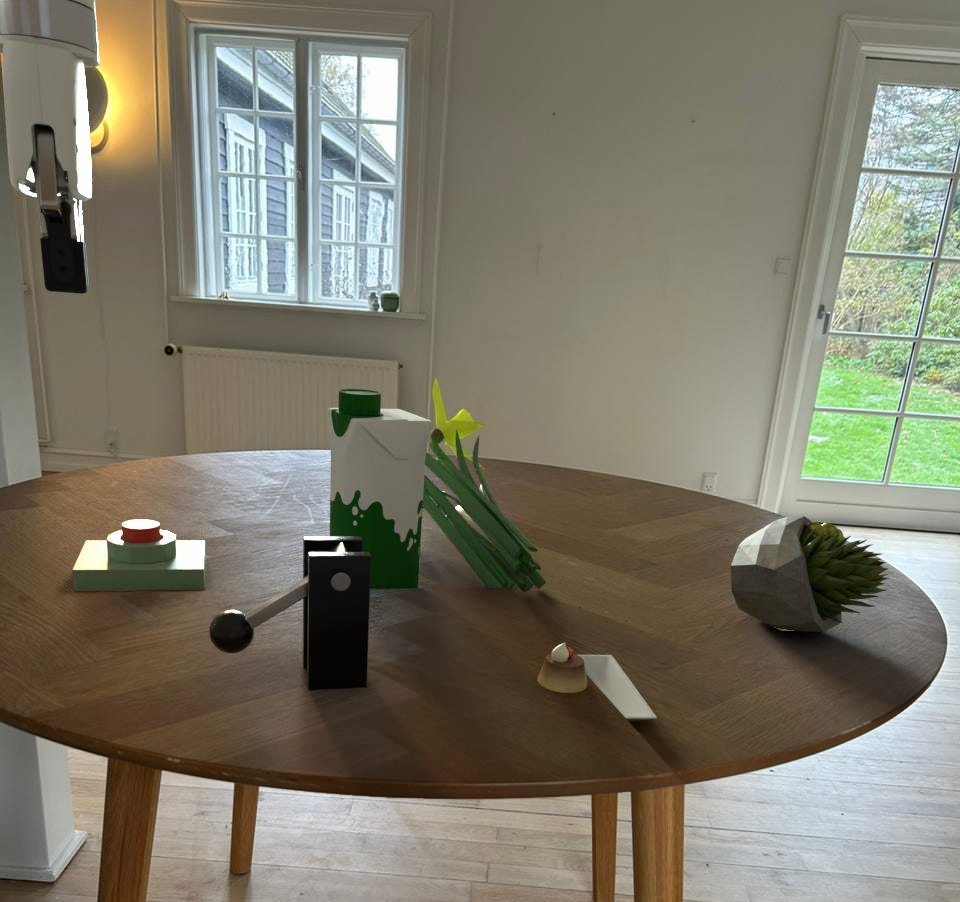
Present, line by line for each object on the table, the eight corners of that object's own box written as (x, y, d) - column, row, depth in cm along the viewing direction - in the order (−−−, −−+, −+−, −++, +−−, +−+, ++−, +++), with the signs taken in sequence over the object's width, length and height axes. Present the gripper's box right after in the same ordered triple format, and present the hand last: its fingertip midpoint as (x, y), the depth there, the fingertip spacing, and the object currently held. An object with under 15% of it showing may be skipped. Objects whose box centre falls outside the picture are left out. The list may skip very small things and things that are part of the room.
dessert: (610, 666, 78) (617, 615, 76) (655, 731, 67) (665, 674, 65) (476, 664, 76) (481, 613, 74) (501, 731, 65) (507, 672, 63)
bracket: (257, 720, 64) (254, 565, 59) (252, 669, 72) (250, 528, 67) (419, 712, 67) (428, 564, 63) (398, 663, 75) (405, 529, 71)
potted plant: (767, 565, 100) (911, 561, 91) (741, 659, 95) (891, 665, 86) (735, 494, 92) (889, 481, 83) (705, 592, 87) (866, 591, 78)
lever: (226, 668, 65) (199, 634, 63) (225, 650, 67) (200, 618, 66) (366, 583, 65) (343, 548, 63) (360, 569, 68) (338, 535, 66)
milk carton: (318, 578, 94) (320, 385, 86) (396, 571, 98) (404, 386, 91) (349, 606, 87) (353, 398, 79) (431, 597, 91) (443, 399, 84)
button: (121, 545, 87) (119, 528, 86) (124, 535, 90) (123, 519, 90) (159, 545, 88) (158, 528, 87) (161, 535, 91) (160, 519, 91)
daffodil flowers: (425, 611, 90) (323, 453, 114) (514, 656, 100) (403, 503, 124) (533, 483, 86) (404, 347, 109) (615, 544, 96) (480, 408, 119)
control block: (73, 591, 85) (69, 551, 83) (87, 560, 93) (84, 523, 92) (204, 590, 88) (203, 551, 86) (205, 559, 97) (204, 524, 95)
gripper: (10, 47, 73) (34, 286, 80) (-36, 0, 59) (-2, 291, 66) (108, 61, 75) (123, 292, 82) (84, 18, 62) (105, 299, 68)
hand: (67, 291), depth 74 cm, fingers closed
